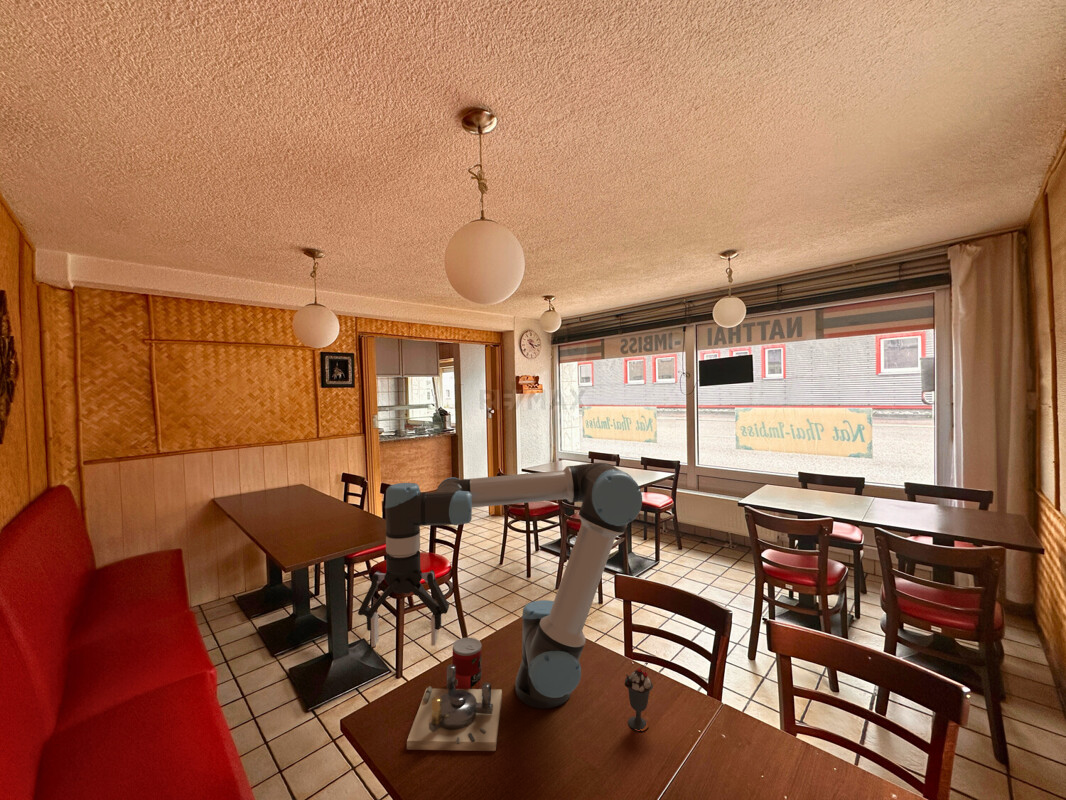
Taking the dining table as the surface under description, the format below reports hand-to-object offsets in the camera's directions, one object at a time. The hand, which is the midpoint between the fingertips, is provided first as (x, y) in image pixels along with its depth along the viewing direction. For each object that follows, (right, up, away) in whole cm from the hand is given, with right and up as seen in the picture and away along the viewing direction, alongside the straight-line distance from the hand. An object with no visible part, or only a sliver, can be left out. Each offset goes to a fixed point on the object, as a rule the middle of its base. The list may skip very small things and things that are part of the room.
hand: (404, 642), depth 102 cm
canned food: (+11, -22, +20) cm, 32 cm away
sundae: (+55, -23, +6) cm, 60 cm away
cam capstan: (+10, -20, +5) cm, 23 cm away
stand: (+11, -23, +6) cm, 26 cm away
